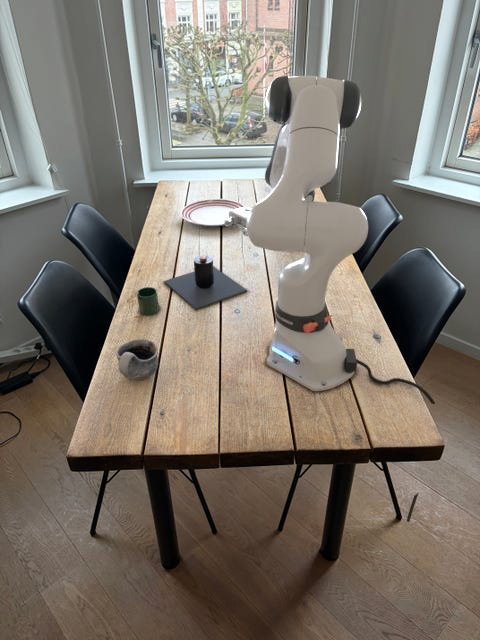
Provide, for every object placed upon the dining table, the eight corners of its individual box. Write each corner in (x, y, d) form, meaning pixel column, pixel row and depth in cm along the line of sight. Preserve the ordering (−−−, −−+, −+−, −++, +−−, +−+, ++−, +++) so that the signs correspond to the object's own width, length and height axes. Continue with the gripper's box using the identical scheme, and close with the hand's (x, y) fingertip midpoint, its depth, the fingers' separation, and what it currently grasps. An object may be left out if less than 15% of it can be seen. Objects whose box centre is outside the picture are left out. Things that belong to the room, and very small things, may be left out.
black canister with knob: (215, 288, 146) (213, 260, 140) (196, 290, 145) (194, 262, 140) (213, 279, 150) (211, 252, 145) (194, 281, 150) (192, 253, 144)
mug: (164, 361, 117) (159, 328, 112) (155, 396, 107) (149, 361, 101) (125, 361, 118) (119, 328, 112) (112, 395, 107) (105, 361, 102)
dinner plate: (241, 232, 182) (241, 224, 181) (173, 229, 186) (172, 221, 184) (251, 207, 205) (251, 200, 203) (190, 204, 209) (189, 197, 207)
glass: (162, 311, 137) (160, 293, 133) (144, 317, 134) (142, 299, 131) (153, 302, 140) (151, 285, 137) (136, 308, 138) (133, 290, 134)
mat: (246, 291, 145) (246, 289, 145) (196, 310, 137) (196, 308, 136) (212, 267, 159) (212, 265, 159) (164, 282, 151) (164, 281, 150)
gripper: (249, 199, 157) (214, 209, 150) (291, 217, 143) (255, 228, 136) (249, 217, 160) (215, 227, 153) (290, 236, 147) (255, 248, 140)
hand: (234, 228), depth 145 cm, fingers open, 8 cm apart
